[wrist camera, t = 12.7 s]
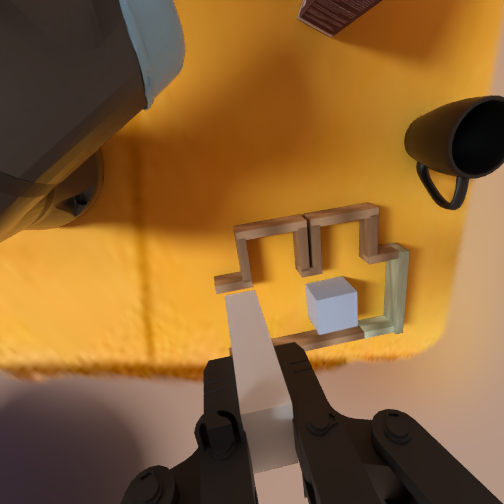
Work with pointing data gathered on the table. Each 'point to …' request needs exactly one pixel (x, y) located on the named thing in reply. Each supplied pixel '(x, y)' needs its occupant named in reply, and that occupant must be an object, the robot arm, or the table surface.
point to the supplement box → (333, 13)
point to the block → (332, 305)
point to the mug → (458, 143)
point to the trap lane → (311, 264)
